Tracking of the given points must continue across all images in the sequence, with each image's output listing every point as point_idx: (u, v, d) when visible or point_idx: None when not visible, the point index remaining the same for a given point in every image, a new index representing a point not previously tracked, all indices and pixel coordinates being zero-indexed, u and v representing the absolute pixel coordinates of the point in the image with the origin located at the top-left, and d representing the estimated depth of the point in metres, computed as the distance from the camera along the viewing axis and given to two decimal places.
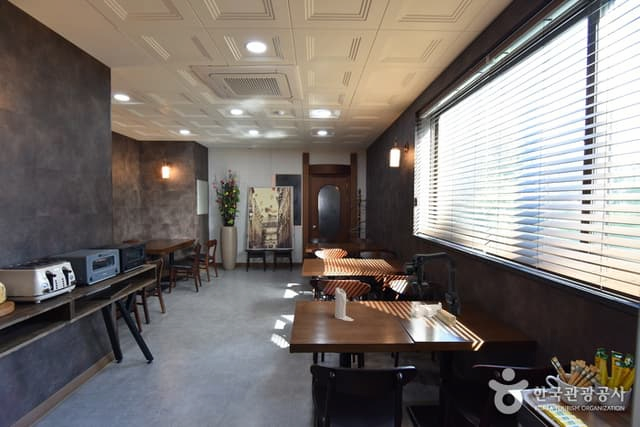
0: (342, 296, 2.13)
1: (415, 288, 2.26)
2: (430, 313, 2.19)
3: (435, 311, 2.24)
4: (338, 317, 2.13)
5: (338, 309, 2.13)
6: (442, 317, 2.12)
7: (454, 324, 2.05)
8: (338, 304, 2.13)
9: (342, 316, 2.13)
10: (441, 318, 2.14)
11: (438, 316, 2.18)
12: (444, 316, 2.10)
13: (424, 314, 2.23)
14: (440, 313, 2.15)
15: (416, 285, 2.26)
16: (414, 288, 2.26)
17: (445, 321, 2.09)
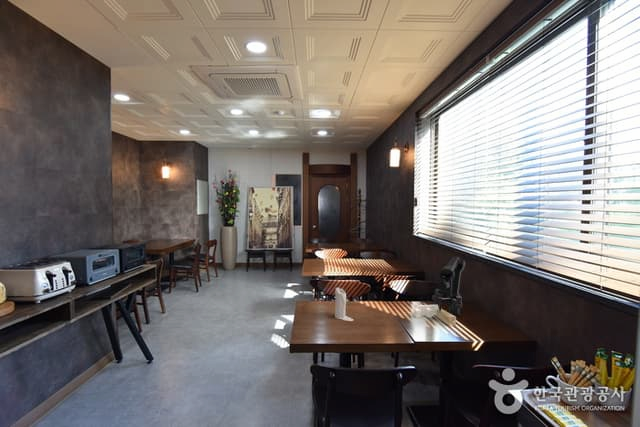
0: (342, 296, 2.13)
1: (453, 305, 2.12)
2: (430, 313, 2.19)
3: (435, 311, 2.24)
4: (338, 317, 2.13)
5: (338, 309, 2.13)
6: (442, 317, 2.12)
7: (454, 324, 2.05)
8: (338, 304, 2.13)
9: (342, 316, 2.13)
10: (441, 318, 2.14)
11: (438, 316, 2.18)
12: (444, 316, 2.10)
13: (424, 314, 2.23)
14: (440, 313, 2.15)
15: (454, 302, 2.12)
16: (452, 305, 2.13)
17: (445, 321, 2.09)
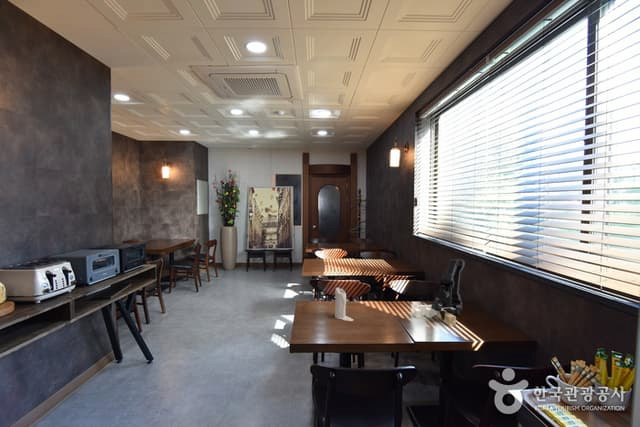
0: (342, 296, 2.13)
1: None
2: (430, 313, 2.19)
3: (435, 311, 2.24)
4: (338, 317, 2.13)
5: (338, 309, 2.13)
6: None
7: (454, 324, 2.05)
8: (338, 304, 2.13)
9: (342, 316, 2.13)
10: (441, 318, 2.14)
11: (438, 316, 2.18)
12: (444, 316, 2.10)
13: (424, 314, 2.23)
14: None
15: (451, 312, 2.11)
16: None
17: (445, 321, 2.09)
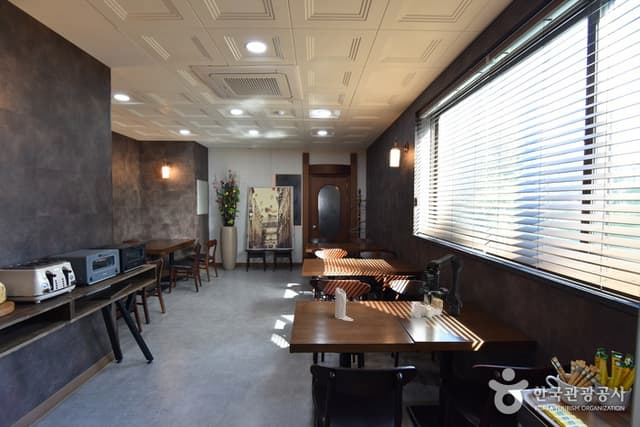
0: (342, 296, 2.13)
1: None
2: (430, 313, 2.19)
3: (435, 311, 2.24)
4: (338, 317, 2.13)
5: (338, 309, 2.13)
6: None
7: (441, 308, 2.05)
8: (338, 304, 2.13)
9: (342, 316, 2.13)
10: (428, 303, 2.14)
11: (425, 301, 2.18)
12: (432, 300, 2.10)
13: (424, 314, 2.23)
14: (427, 298, 2.15)
15: (438, 296, 2.12)
16: None
17: (432, 305, 2.09)
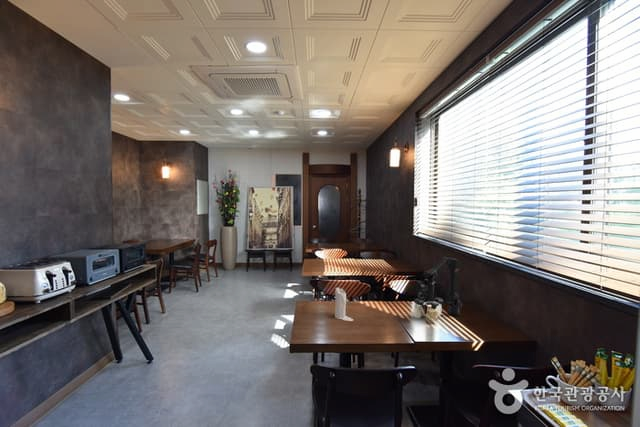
0: (342, 296, 2.13)
1: None
2: None
3: None
4: (338, 317, 2.13)
5: (338, 309, 2.13)
6: None
7: (436, 319, 2.06)
8: (338, 304, 2.13)
9: (342, 316, 2.13)
10: (424, 313, 2.15)
11: (421, 311, 2.19)
12: (427, 311, 2.11)
13: None
14: None
15: (433, 306, 2.12)
16: None
17: (427, 316, 2.10)
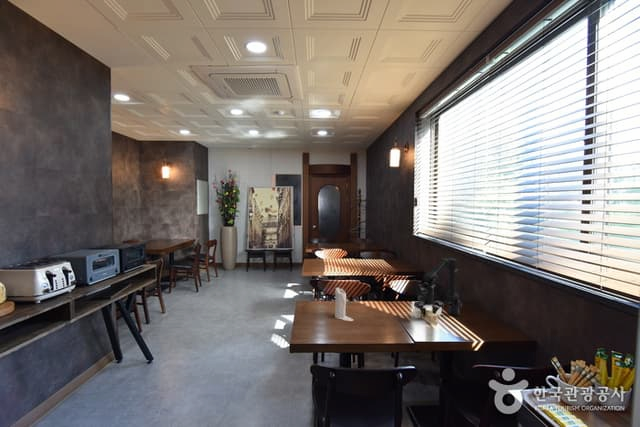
0: (342, 296, 2.13)
1: (433, 312, 2.13)
2: None
3: None
4: (338, 317, 2.13)
5: (338, 309, 2.13)
6: (425, 316, 2.13)
7: (436, 323, 2.06)
8: (338, 304, 2.13)
9: (342, 316, 2.13)
10: None
11: (421, 315, 2.19)
12: (427, 315, 2.11)
13: None
14: None
15: (434, 309, 2.13)
16: (432, 311, 2.14)
17: (427, 320, 2.10)
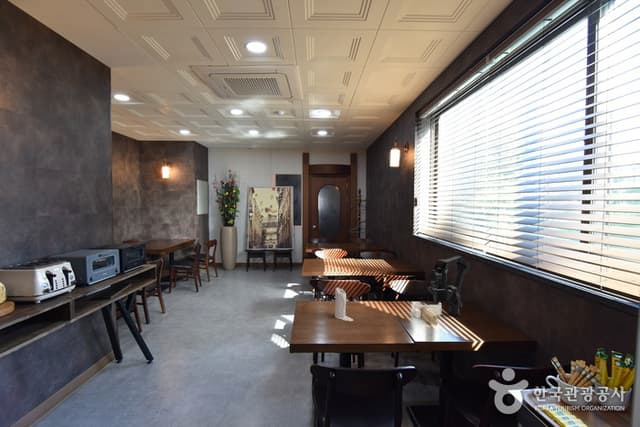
0: (342, 296, 2.13)
1: (449, 296, 2.18)
2: None
3: (435, 311, 2.24)
4: (338, 317, 2.13)
5: (338, 309, 2.13)
6: (425, 316, 2.13)
7: (436, 323, 2.06)
8: (338, 304, 2.13)
9: (342, 316, 2.13)
10: (424, 317, 2.15)
11: (421, 315, 2.19)
12: (427, 315, 2.11)
13: None
14: (423, 312, 2.16)
15: (449, 293, 2.17)
16: (448, 295, 2.19)
17: (427, 320, 2.10)
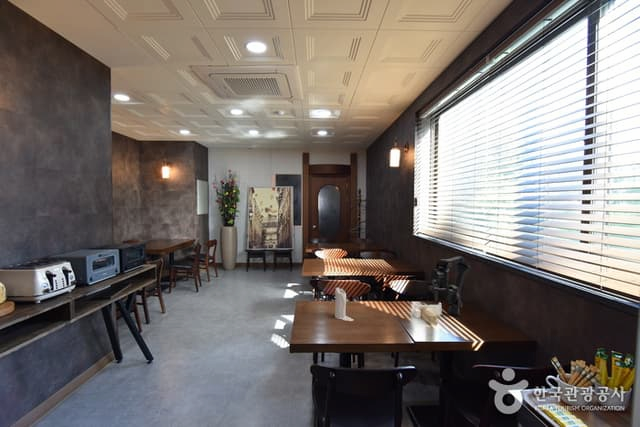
0: (342, 296, 2.13)
1: (450, 295, 2.18)
2: None
3: (435, 311, 2.24)
4: (338, 317, 2.13)
5: (338, 309, 2.13)
6: (425, 316, 2.13)
7: (436, 323, 2.06)
8: (338, 304, 2.13)
9: (342, 316, 2.13)
10: (424, 317, 2.15)
11: (421, 315, 2.19)
12: (427, 315, 2.11)
13: None
14: (423, 312, 2.16)
15: (450, 293, 2.18)
16: (449, 295, 2.19)
17: (427, 320, 2.10)
